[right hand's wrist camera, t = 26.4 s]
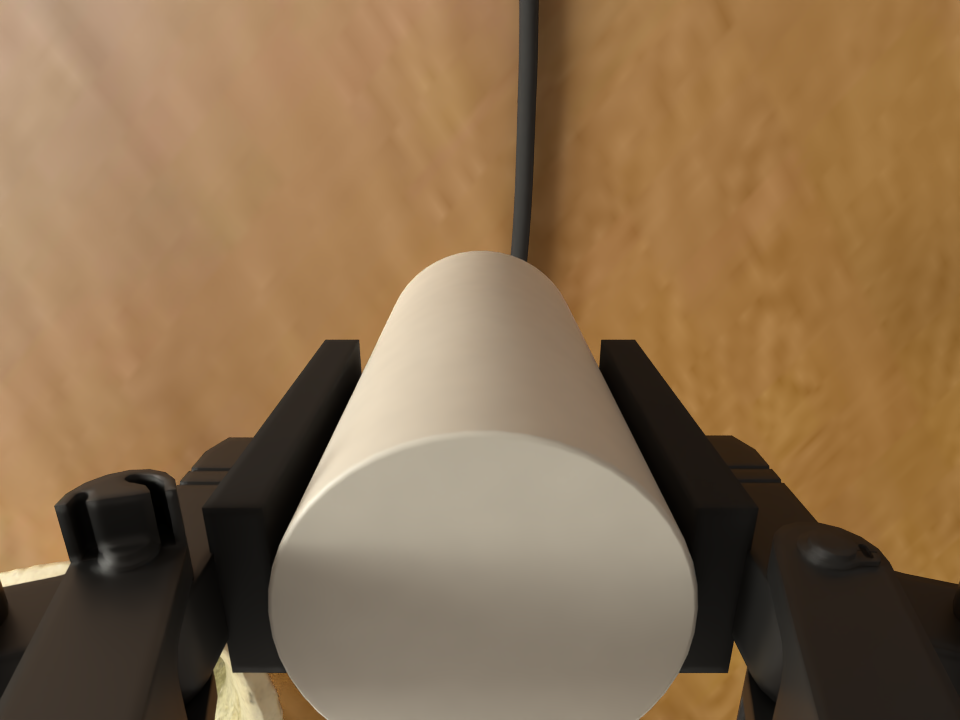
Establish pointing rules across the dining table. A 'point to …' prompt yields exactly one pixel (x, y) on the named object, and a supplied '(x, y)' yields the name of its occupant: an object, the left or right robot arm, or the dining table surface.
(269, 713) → the bowl
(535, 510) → the canister
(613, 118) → the dining table surface
